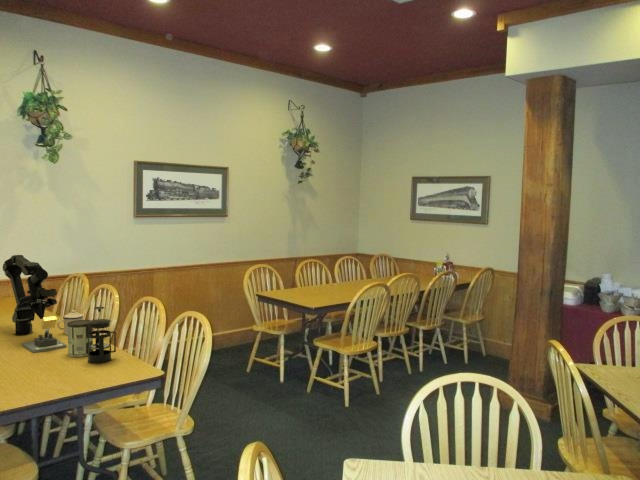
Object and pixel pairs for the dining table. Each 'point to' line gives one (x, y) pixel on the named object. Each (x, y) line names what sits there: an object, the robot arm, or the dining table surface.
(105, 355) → the french press
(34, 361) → the dining table surface
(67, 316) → the teacup with lid
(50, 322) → the lever
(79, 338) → the coffee can
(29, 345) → the switch board
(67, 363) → the dining table surface
